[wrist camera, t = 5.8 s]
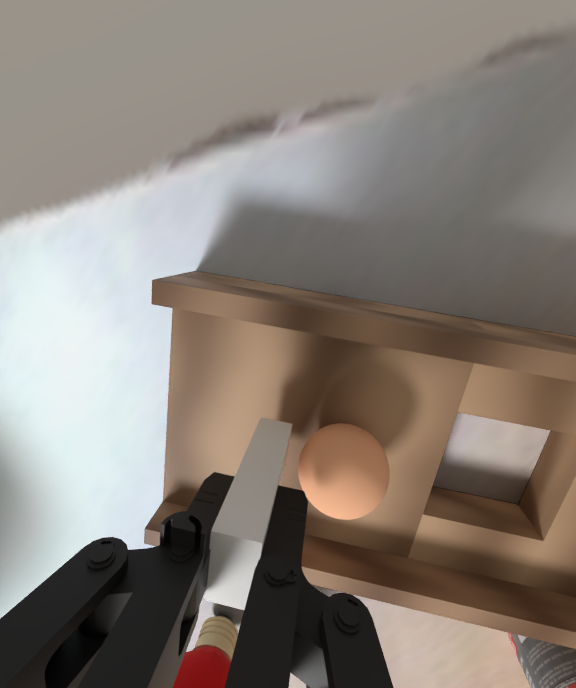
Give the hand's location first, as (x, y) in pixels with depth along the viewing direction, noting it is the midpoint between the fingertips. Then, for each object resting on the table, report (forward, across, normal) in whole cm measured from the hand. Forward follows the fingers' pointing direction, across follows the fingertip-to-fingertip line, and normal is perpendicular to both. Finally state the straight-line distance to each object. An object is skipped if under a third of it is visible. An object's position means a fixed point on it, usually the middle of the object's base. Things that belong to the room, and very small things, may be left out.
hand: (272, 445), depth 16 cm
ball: (-1, +2, 0) cm, 2 cm away
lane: (+4, +6, 0) cm, 7 cm away
